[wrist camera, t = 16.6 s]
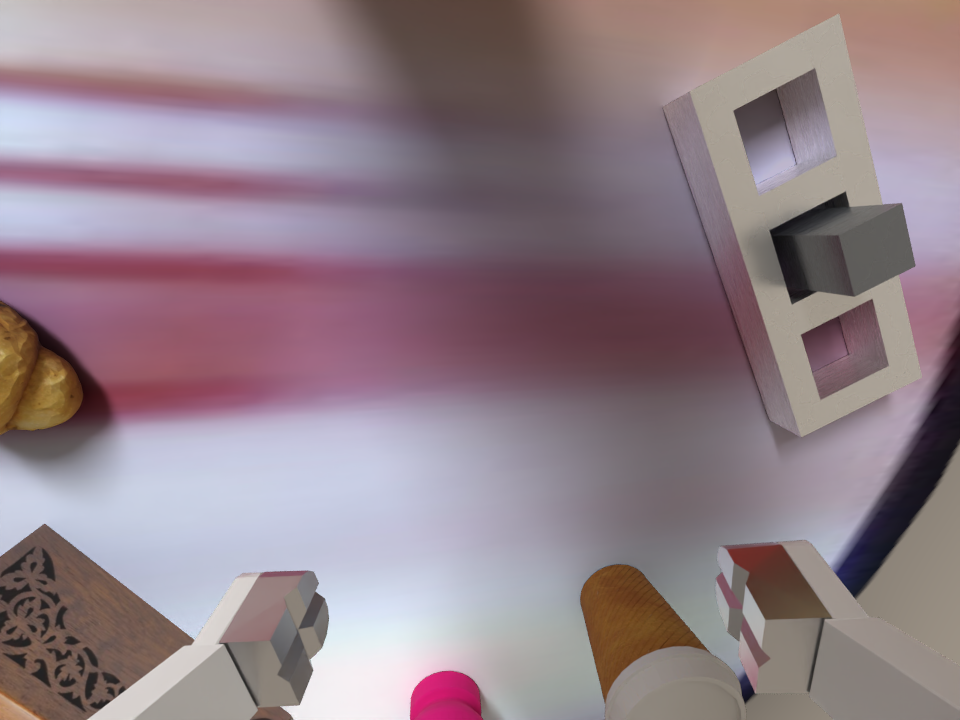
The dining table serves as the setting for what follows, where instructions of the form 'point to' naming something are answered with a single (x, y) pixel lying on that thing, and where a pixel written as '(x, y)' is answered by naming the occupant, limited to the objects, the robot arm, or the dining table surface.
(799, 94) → the rail
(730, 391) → the dining table surface
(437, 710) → the pepper mill
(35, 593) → the tissue box cover
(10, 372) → the bread roll
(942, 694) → the robot arm
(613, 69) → the dining table surface
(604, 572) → the disposable coffee cup
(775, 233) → the peg
